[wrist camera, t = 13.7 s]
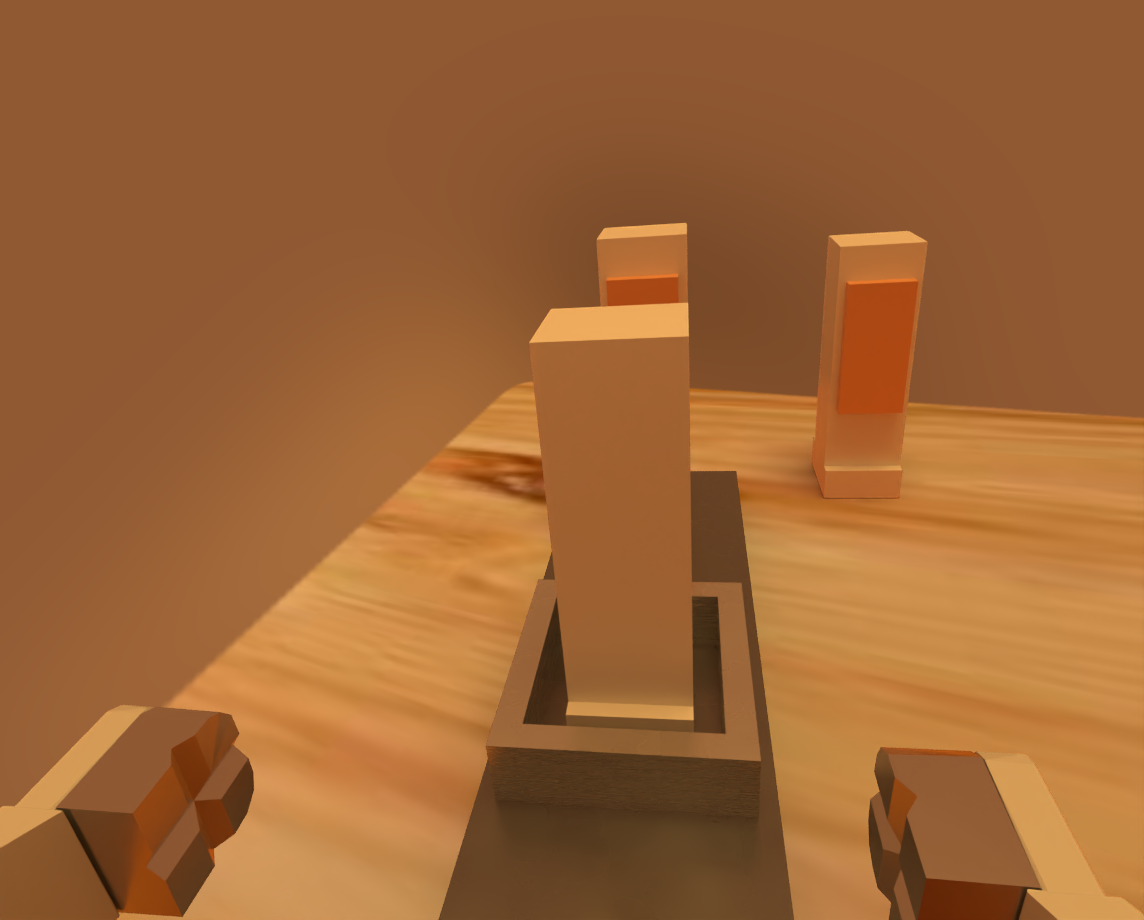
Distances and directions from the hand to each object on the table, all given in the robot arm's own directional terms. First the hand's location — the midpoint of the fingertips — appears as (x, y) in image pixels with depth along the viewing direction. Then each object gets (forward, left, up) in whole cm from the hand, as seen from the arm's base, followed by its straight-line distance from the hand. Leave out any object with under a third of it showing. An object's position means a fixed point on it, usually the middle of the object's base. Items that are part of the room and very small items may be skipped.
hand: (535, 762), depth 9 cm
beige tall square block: (0, -10, -9) cm, 14 cm away
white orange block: (-10, -28, -11) cm, 32 cm away
